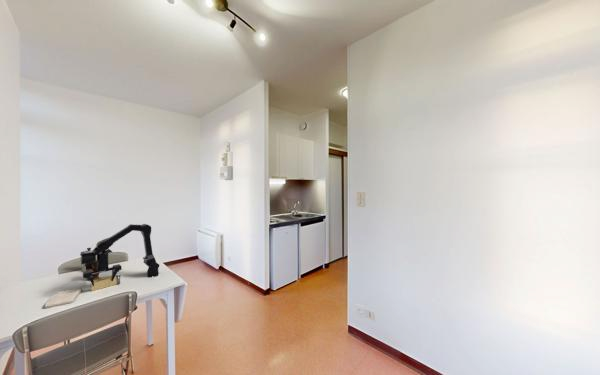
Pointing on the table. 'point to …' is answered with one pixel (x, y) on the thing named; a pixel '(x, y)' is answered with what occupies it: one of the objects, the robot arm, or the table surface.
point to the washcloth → (63, 298)
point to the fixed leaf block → (102, 278)
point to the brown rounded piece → (92, 269)
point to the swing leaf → (105, 283)
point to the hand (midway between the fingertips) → (102, 283)
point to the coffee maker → (84, 264)
